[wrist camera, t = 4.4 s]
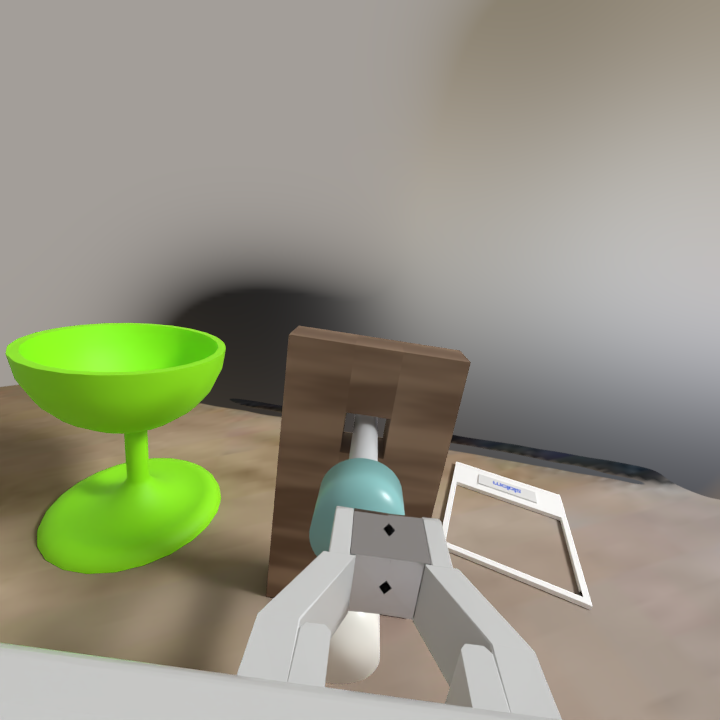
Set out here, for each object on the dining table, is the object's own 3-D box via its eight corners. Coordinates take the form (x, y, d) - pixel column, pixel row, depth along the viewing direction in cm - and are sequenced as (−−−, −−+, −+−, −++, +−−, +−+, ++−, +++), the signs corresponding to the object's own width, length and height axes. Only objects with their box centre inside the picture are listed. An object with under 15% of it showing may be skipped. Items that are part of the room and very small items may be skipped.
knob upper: (397, 583, 16) (415, 505, 15) (304, 568, 16) (314, 489, 15) (388, 442, 28) (398, 393, 27) (336, 434, 28) (343, 385, 27)
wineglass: (204, 451, 47) (206, 323, 42) (238, 533, 35) (246, 367, 29) (48, 481, 38) (26, 322, 32) (19, 607, 25) (-25, 384, 20)
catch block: (405, 618, 29) (470, 362, 22) (266, 596, 29) (289, 334, 22) (403, 585, 32) (459, 350, 25) (276, 565, 32) (299, 325, 25)
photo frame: (560, 494, 48) (593, 604, 32) (557, 500, 49) (589, 613, 32) (456, 460, 53) (439, 542, 36) (455, 466, 53) (436, 550, 37)
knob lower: (372, 690, 18) (386, 630, 17) (290, 677, 18) (298, 617, 17) (374, 516, 30) (382, 474, 29) (325, 508, 30) (331, 466, 29)
